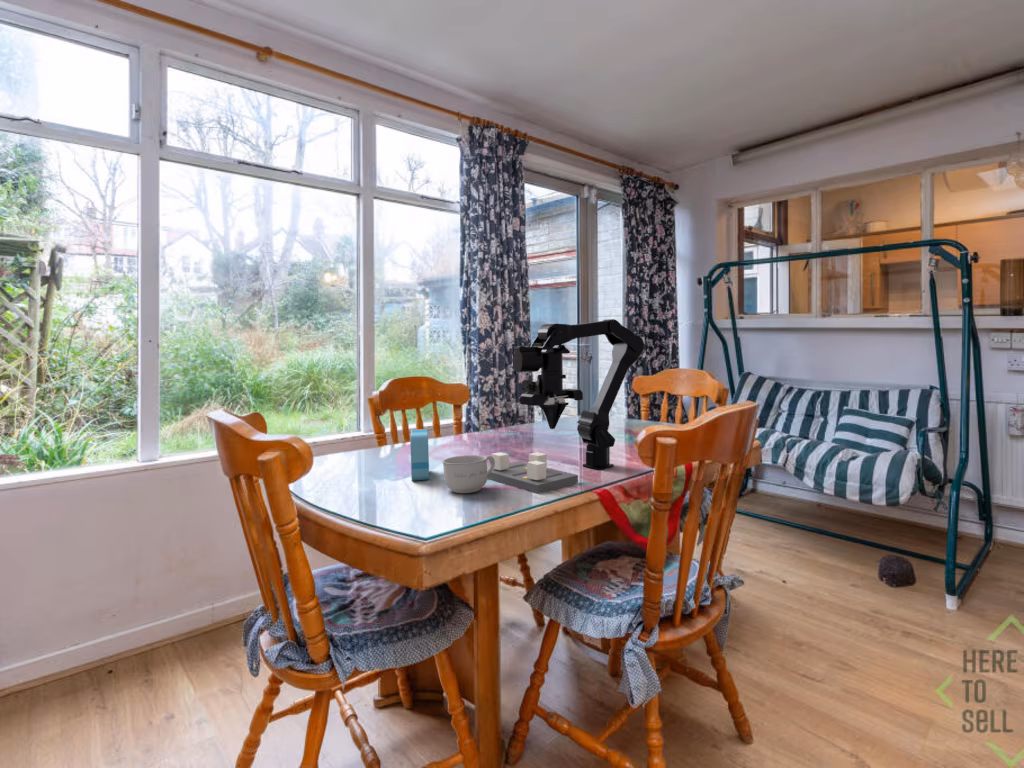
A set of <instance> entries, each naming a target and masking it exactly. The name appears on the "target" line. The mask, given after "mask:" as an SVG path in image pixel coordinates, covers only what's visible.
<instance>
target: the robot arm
mask: <svg viewBox="0 0 1024 768" xmlns="http://www.w3.org/2000/svg"><path fill="white" fill-rule="evenodd" d="M602 335H604V336H605V337H606V340H607V341H608V343H609V344H610V345H611V346H613V347H612V351H611V356H612V363H611V364H610V367H609V368H608V370H607V371H608V372H607V374H606V376H605V378H604V380H603V382H602V385H601V387H600V389H599V392H598V394H597V397H596V398H595V400H594V403H593V405H592V407H591V408H590V409H589V410H587V409H586V410H585V409H583V410H582V412H581V414H580V417H579V418H578V420H577V422H576V424H577V429H576V430H577V433H578V435H579V437H581V440H582V443H583V444H587V445H586V451H585V463H582V467H585V468H590V469H594V470H603V469H608V468H611V467H614V466H615V464H613V463H610V461H611V460H610V457H611V456H610V455H611V453H610V450H611V449H610V448H612V447H614V445H615V441H616V438H615V437H614V436H613V435H612V434H611V433H610V432H609V428H610V412H611V409H612V408H613V405H614V403H615V400H616V398H617V395H618V393H619V391H620V390H621V387H622V384H623V381H624V380H625V377H626V376H627V375H626V374H628V373H627V372H628V370H629V369H630V367H631V366H632V365H634V364H635V363H636V362H637V361H638V360H639V358H640V356H641V355H642V354H643V352H644V349H645V344H644V341H643V339H642V337H641V336H639V335H636V334H635V333H634V332H633V331H632V330H630V329H629V328H627V327H625V326H624V325H622V324H621V322H619V320H616V319H613V318H610V319H603V320H599V321H592V322H590V321H589V322H585V323H578V324H577V323H576V324H567V323H544V324H541V326H540V327H539V328H538V331H537V335H536V336H535V338H534V340H533V341H532V343H531V344H530V346H524V345H522V346H521V345H519V346H516V349H515V352H514V354H513V358H512V366H513V369H514V371H515V372H516V373H534V372H539V370H540V374H537V377H536V378H537V379H536V380H535V381H532V380H531V379H524V380H523V381H521V390H522V393H521V395H520V396H519V404H520V405H524V406H533V407H537V406H539V408H540V409H542V411H543V414H544V416H545V419H546V422H547V425H548V427H549V429H550V430H555V429H556V426H557V425H558V422H559V420H560V418H561V416H562V415H563V412H564V411H565V409H566V407H567V406H568V405H569V404H570V403H569V402H566V400H565V399H567V400H568V399H572V400H574V401H583V399H584V394H583V391H582V389H578V388H564V386H563V385H564V384H563V383H564V382H563V379H567V375H566V374H563V365H564V363H563V354H570V353H571V351H570V350H569V349H568V348H567V347H566V346H565V345H564V344H566V343H569V342H570V341H573V340H575V339H580V338H587V337H595V336H602ZM555 346H557V347H555ZM543 350H544V351H543Z"/></svg>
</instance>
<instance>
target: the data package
mask: <svg viewBox="0 0 1024 768" xmlns="http://www.w3.org/2000/svg"><path fill="white" fill-rule="evenodd" d="M409 442H410V469H411V470H410V471H411V472H410V476H411V481H413V482H415V481H416V482H417V481H429V480H430V461H429V460H430V458H429V457H430V455H429V454H430V453H429V429H428V428H420V429H419V428H417V429H416V428H414V429H410V438H409Z"/></svg>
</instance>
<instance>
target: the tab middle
mask: <svg viewBox="0 0 1024 768" xmlns="http://www.w3.org/2000/svg"><path fill="white" fill-rule="evenodd" d="M547 456H548V455H547V453H542V452H538V451H536V452H531V453H529V454H528V462H531V461H540V462H544V463H546V469H547V468H548V466H547V465H548V461H547V459H548V458H547Z"/></svg>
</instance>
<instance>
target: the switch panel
mask: <svg viewBox="0 0 1024 768" xmlns="http://www.w3.org/2000/svg"><path fill="white" fill-rule="evenodd" d="M487 469H488V467H487ZM487 480H491V481H494V482H497V483H499V484H500V483H501V484H503V485H507V486H510V487H515V488H518V489H521V490H524V491H527V492H531V493H534V494H541V493H545V492H548V491H552V490H557V489H561V488H563V487H567V486H571V485H575V484H578V483H579V474H575V473H571V472H567V471H563V470H558V469H555V468H549V467H547V469H546V478H545V479H541V480H534V479H530V478H527V462H526V461H525V462H524V461H521V460H520V461H519V460H518V461H514V462H509V469H504V470H497V469H493V470H492V471H491V472H490V473H489V474H488V475H487Z"/></svg>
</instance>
